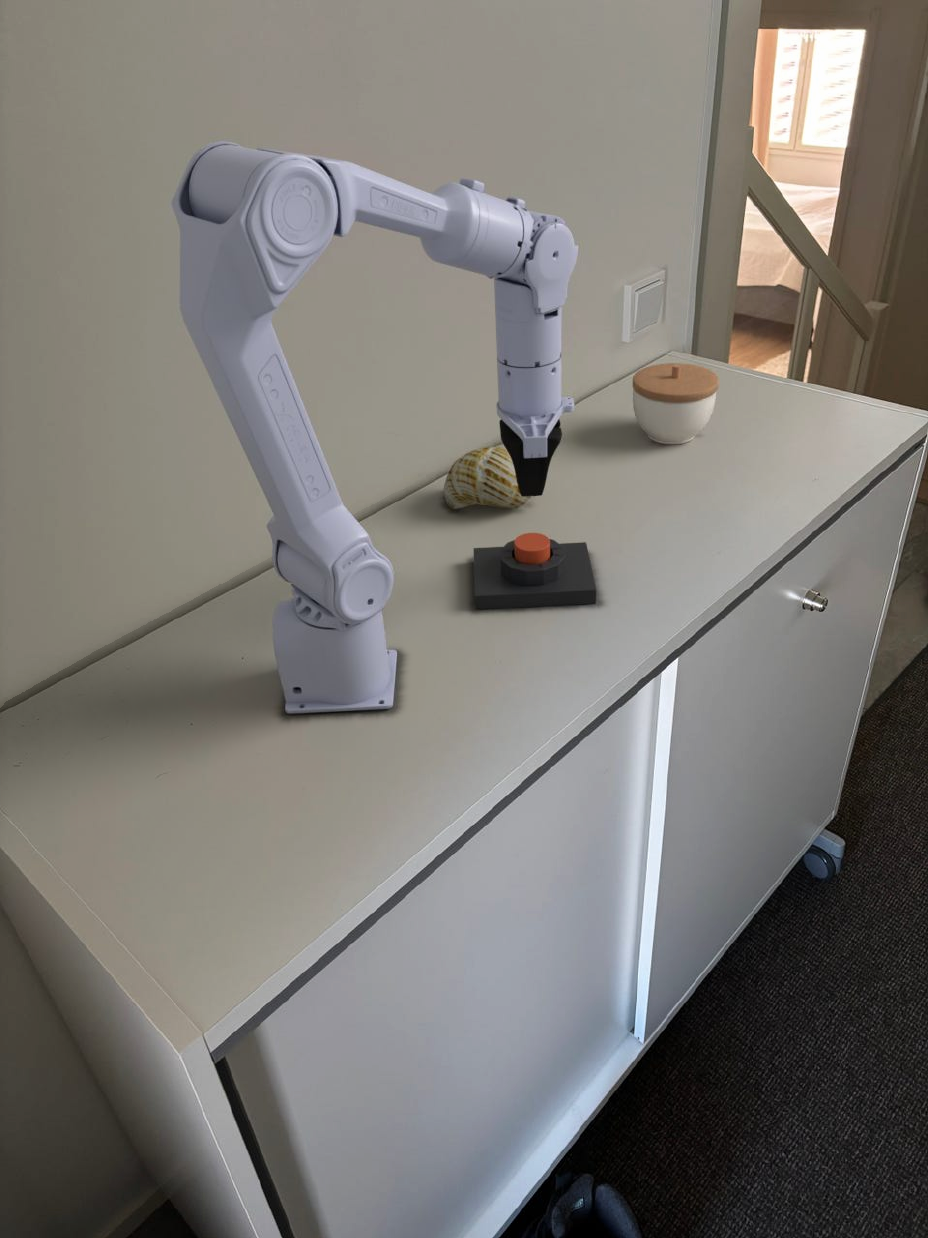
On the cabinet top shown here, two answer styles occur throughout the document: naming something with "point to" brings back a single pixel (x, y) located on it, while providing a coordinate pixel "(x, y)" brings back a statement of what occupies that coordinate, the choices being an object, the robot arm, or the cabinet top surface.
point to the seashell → (483, 480)
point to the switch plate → (533, 578)
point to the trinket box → (674, 401)
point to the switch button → (532, 548)
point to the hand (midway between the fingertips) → (531, 492)
